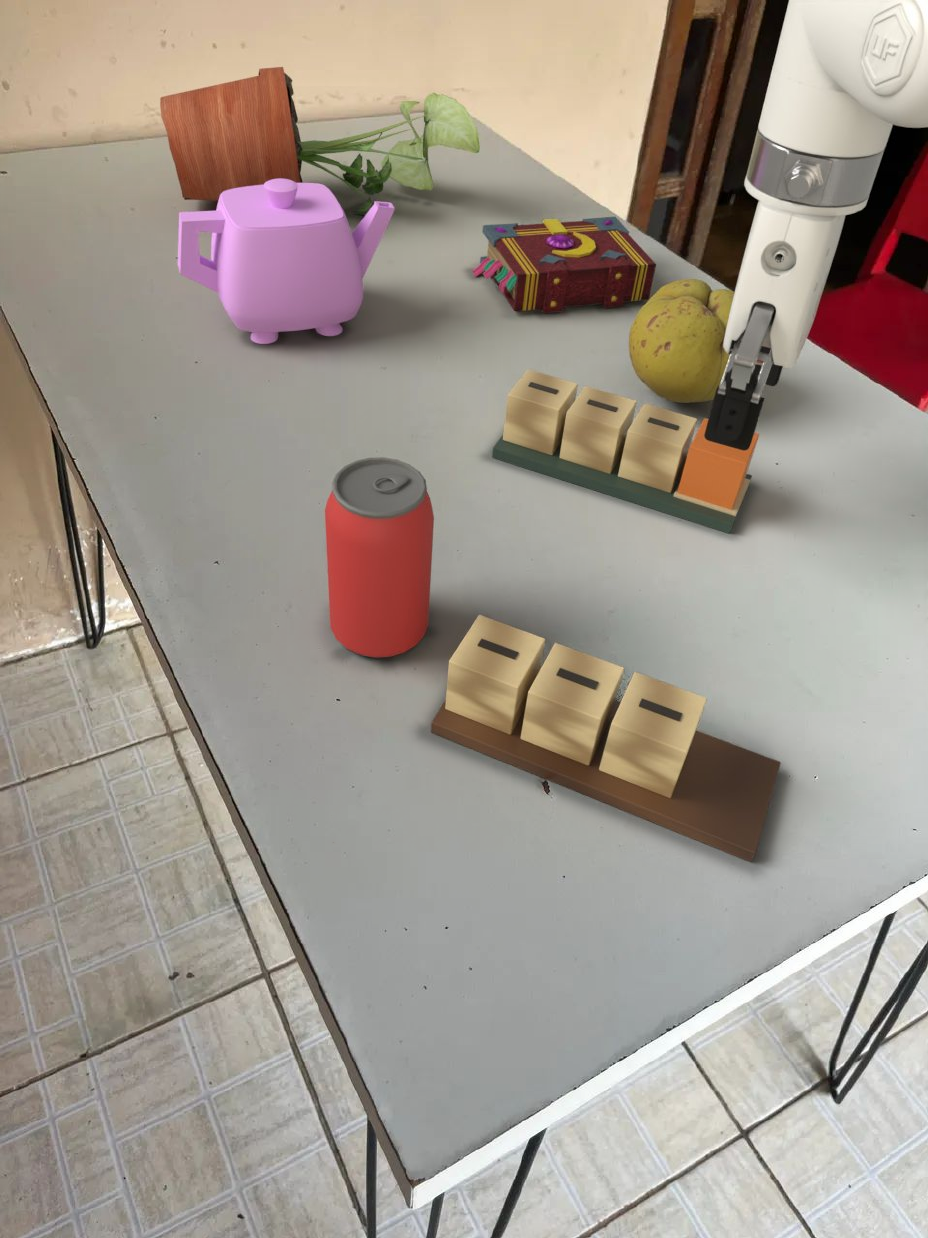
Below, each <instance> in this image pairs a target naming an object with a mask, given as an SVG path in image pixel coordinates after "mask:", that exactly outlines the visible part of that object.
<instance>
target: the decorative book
mask: <svg viewBox="0 0 928 1238" xmlns="http://www.w3.org/2000/svg"><path fill="white" fill-rule="evenodd" d="M481 232H482V233H483V235H484V236H485V238H486V239H487V240H488V241H487V243H488V244H487V254H486V256H480V257H479V258H480V259H479V265H477V267H476V268H474V269H473V270H472V271H471V272H472V274H473V275H474V276H475V277H478V276H480V274H483V277H484V278H485V279H486V280H488V279H490V280H493V281H494V283H495V284H496V286H497V287H498V289H499V290H500V292H501V294H502V295H503V297H504V298H505V299H506V301H507V302H508V303H509V305H510V307H511V308H512V310H513V311H514V312H525V311H534V310H540V311H541V312H542V313H543V314H548V313H549V314H551V313H559V312H561V313H562V312H563V311H564V308H569V307H583V306H592V305H601V306H602V307H603V308H605V309H606V308H615V307H623V306H624V303H625V302H637V301H639V302H640V301H649V300H650V296H651V295H650V294H651V291H652V285H653V280H654V277H655V276H654V275H655V272H656V268H657V263H656V262H655V261H654V260H653V259H652V257H650V256H649V255H648V253H646V252H645V250H644V249H643V248H642V247H641V246H640V245H639V244H638V243H637V242H636V240H635V239H634V238H633V237H632V236H631V234H630V231H629V230H628V228H627V227H626V226H625V225H624V224H623V223H622V222H621V221H620V220H619V219H618V217H617V216H605V217H604V216H602V217H592V218H591V217H589V218H582V219H581V220H577V221H574V220H573V221H560V220H559V219H558V218H548V219H547V218H546V219H542V223H532V224H530V223H529V224H519V223H518V222H515V223H512V222H511V223H496V224H482V231H481Z"/></svg>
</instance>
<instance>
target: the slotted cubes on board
mask: <svg viewBox="0 0 928 1238" xmlns="http://www.w3.org/2000/svg"><path fill="white" fill-rule="evenodd" d="M545 644H546V638H544V637H542V636H540V635H539V636H538V635H536V634H533V633H530V632H528V631H525V630H523V629H521V628H517V627H514V626H512V625H509V624H506V623H503V622H500V621H498V620H495V619H492V618H490V617H487V616H485V615H482V614H479V615H477V617H476V619H475V620H474V622H473V623H472V625H471V626H470V628H469V630H468V631H467V633H466V634H465V636H464V637H463V639H462V640H461V642H460V644H459V645H458V647H457V648H456V650H455V651H454V653H453V654H452V656H451V657H450V659H449V660H448V668H447V669H448V670H447V682H446V696H445V700H444V702H443V703H442V705H441V706H440V708H439V710H438V711H437V713H436V714H435V716H434V717H433V719H432V721H431V725H430V733H432V734H434V735H436V736H439V737H442V738H443V739H447V740H449V741H451V742H454V743H457V744H459V745H462V746H464V747H466V748H469V749H471V750H473V751H476V752H479V753H481V754H484V755H486V756H489V757H491V758H493V759H495V760H498V761H500V762H502V763H503V762H504V763H505V764H508V765H510V766H513V767H515V768H518V769H520V770H523V771H526V772H528V773H531V774H533V775H536V776H537V777H540V778H542V779H545V780H548V781H550V782H552V783H555V784H558V785H560V786H562V787H565V788H567V789H569V790H572V791H575V792H576V793H579V794H582V795H585V796H587V797H590V798H591V799H595V800H597V801H600V802H602V803H605V804H606V805H609V806H612V807H614V808H616V809H619V810H622V811H624V812H627V813H629V814H631V815H633V816H637V817H639V818H641V819H644V820H646V821H649V822H651V823H654V824H657V825H658V826H661V827H664V828H666V829H669V830H671V831H674V832H676V833H678V834H681V835H684V836H686V837H688V838H691V839H693V840H695V841H698V842H700V843H703V844H705V845H708V846H710V847H713V848H715V849H717V850H719V851H720V850H721V851H723V852H725V853H728V854H730V855H732V856H735V857H737V858H740V859H742V860H745V861H747V862H752V861H753V860H754V858H755V855H756V853H757V850H758V846H759V844H760V843H759V842H760V840H761V836H762V832H763V830H764V829H763V828H764V825H765V821H766V818H767V814H768V810H769V806H770V803H771V799H772V795H773V792H774V789H775V785H776V782H777V778H778V774H779V770H780V767H781V764H782V763H781V761H779V760H776V759H774V758H771V757H768V756H766V755H763V754H760V753H757V752H755V751H752V750H749V749H748V748H745V747H742V746H739V745H736V744H734V743H730V742H728V741H726V740H723V739H721V738H718V737H714V736H712V735H710V734H708V733H705V732H702V731H699V730H697V728H698V726H699V723H700V720H701V717H702V716H703V712H704V710H705V706H706V704H707V702H708V698H707V697H705V696H702V695H700V694H697V693H695V692H693V691H689V690H687V689H684V688H681V687H678V686H675V685H673V684H670V683H667V682H664V681H662V680H659V679H656V678H654V677H651V676H648V675H646V674H643V673H640V672H638V671H634V673H633V675H632V677H631V679H630V681H629V683H628V685H627V687H626V690H625V692H624V694H623V697H622V699H621V701H619V700H617V698H618V694H619V692H620V687H621V683H622V679H623V676H624V673H625V667H624V666H621V665H618V664H615V663H613V662H610V661H608V660H604V659H602V658H600V657H597V656H593V655H591V654H589V653H586V652H582V651H580V650H577V649H574V648H571V647H569V646H567V645H564V644H560V643H559V642H555V643H554V644H553V646H552V648H551V649H550V651H549V653H548V655H547V657H546V659H545V660H544V662H543V664H542V661H543V656H544V649H545Z"/></svg>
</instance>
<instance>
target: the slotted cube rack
mask: <svg viewBox="0 0 928 1238" xmlns="http://www.w3.org/2000/svg"><path fill="white" fill-rule="evenodd" d="M578 386H579V384H578V383H577V382H574V381H570V380H566V379H564V378H561V377H557V376H553V375H549V374H546V373H543V372H539V371H536V370H532V369H527V370H526V371H525V372H524V374H523V375H522V376H521V377H520V379H519V380H518V381H517V382H516V384H515V385H514V386H513V387H512V389H511V390H509V392H508V394H507V398H506V407H505V417H504V427H503V433H502V436H500V438H499V439H498V440H497V441H496V443H495V444H494V446H493V447H492V452H491V453H492V455H491V458H493V459H495V460H499V461H502V462H506V463H508V464H511V465H514V466H517V467H521V468H524V469H527V470H530V471H533V472H536V473H539V474H542V475H546V476H550V477H552V478H556V479H558V480H562V481H565V482H568V483H571V484H574V485H577V486H579V487H583V488H585V489H590V490H593V491H596V492H598V493H601V494H605V495H608V496H611V497H614V498H617V499H620V500H624V501H627V502H629V503H633V504H636V505H639V506H642V507H645V508H647V509H652V510H655V511H657V512H661V513H664V514H667V515H670V516H673V517H675V518H676V517H678V518H680V519H684V520H686V521H689V522H692V523H695V524H698V525H701V526H705V527H708V528H711V529H714V530H716V531H717V530H718V531H720V532H724V533H727V534H730V533H731V530H732V527H733V526H734V524H735V521H736V518H737V516H738V514H739V511H740V508H741V507H742V503H743V501H744V499H745V497H746V495H747V492H748V490H749V487H750V484H751V481H752V478H753V475H752V474H749V473H747V474H746V477H745V480H744V482H743V485H742V487H741V489H740V492H739V494H738V497H737V499H736V501H735V504H734V506H733V508H732V509H728V508H725V507H722V506H719V505H715V504H712V503H709V502H706V501H703V500H699V499H696V498H693V497H690V496H687V495H684V494H680V493H678V488H679V484H680V481H681V477H682V473H683V470H684V466H685V462H686V459H687V455H688V452H689V448H690V445H691V443H692V441H693V439H694V438H693V437H694V434H695V430H696V426H697V424H698V418H697V417H693V416H689V415H686V414H682V413H679V412H676V411H672V410H669V409H666V408H663V407H660V406H659V407H658V406H655V405H652V404H649V403H643V405H642V406H641V408H640V410H639V411H638V413H637V414H636V416H635V413H636V407H637V403H638V401H637V400H636V399H631V398H628V397H625V396H621V395H618V394H614V393H611V392H608V391H604V390H601V389H598V388H594V387H591V386H587V385H585V386H584V387H583V389H582V390H581V391H580V393H579V394H578V395H577V393H578ZM634 417H635V418H634Z"/></svg>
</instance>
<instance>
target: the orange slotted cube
mask: <svg viewBox="0 0 928 1238" xmlns="http://www.w3.org/2000/svg"><path fill="white" fill-rule="evenodd" d="M708 419H709V418H707V417H706V418H703V420H702V423H700V426H699V428H698V429H697V432H696V433H695V435H694V438H693V439H692V441H691V445H690V448H689V452H688V455H687V459H686V462H685V466H684V470H683V473H682V477H681V481H680V484H679V488H678V493H680V494H684V495H687V496H690V497H693V498H696V499H699V500H703V501H706V502H709V503H712V504H715V505H719V506H722V507H725V508H728V509H732V508H733V506H734V504H735V501H736V499H737V497H738V494H739V492H740V489H741V487H742V485H743V482H744V480H745V477H746V474H748V471H749V467H750V465H751V462H752V459H753V457H754V453H755V450H756V448H757V447H756V446H757V444H758V440H759V438H760V433H758V432H754V435H753V439H752V442H751V445H750V447H749V449H748V450H740V449H736V448H733V447H729V446H726V445H722V444H718V443H715V442H711V441H708V440H706V439H705V437H704V434H705V430H706V427H707V423H708Z"/></svg>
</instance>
